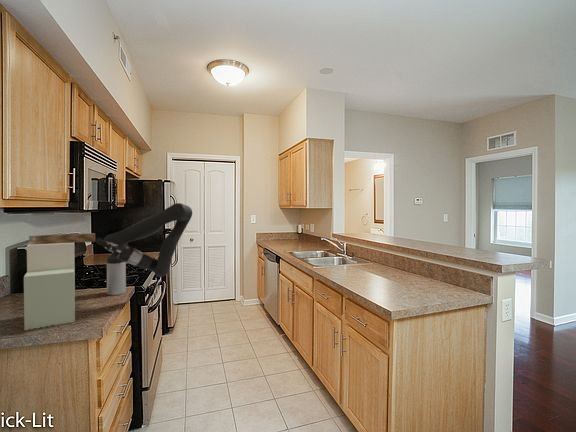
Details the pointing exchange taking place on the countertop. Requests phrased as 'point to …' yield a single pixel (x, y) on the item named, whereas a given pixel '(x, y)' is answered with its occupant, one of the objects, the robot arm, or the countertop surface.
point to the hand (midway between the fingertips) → (97, 240)
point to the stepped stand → (49, 285)
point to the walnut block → (61, 238)
